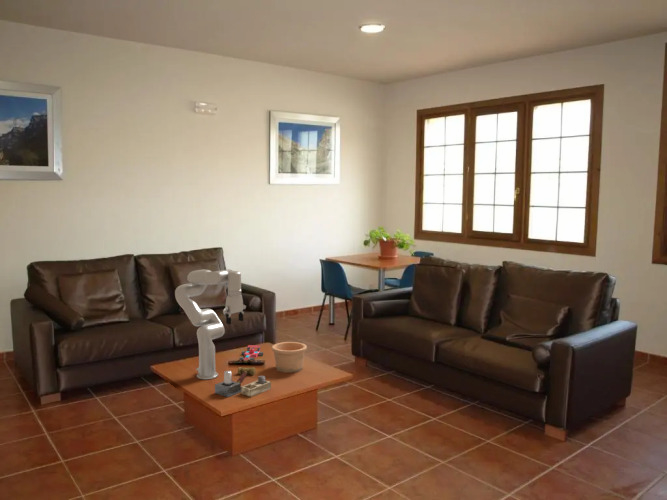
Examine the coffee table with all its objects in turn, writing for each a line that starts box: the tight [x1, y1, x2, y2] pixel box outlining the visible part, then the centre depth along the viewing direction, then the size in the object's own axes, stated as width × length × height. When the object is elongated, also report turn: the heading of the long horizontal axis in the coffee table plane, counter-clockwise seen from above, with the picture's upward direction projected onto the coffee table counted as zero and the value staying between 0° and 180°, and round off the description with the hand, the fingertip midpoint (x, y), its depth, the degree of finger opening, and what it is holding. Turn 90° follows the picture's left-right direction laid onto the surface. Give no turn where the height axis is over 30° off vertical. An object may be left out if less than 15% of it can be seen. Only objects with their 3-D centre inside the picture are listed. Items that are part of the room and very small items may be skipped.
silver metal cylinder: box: [223, 370, 232, 386], centre depth 319 cm, size 4×4×12 cm
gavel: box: [237, 366, 256, 384], centre depth 343 cm, size 21×5×10 cm
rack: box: [240, 375, 272, 398], centre depth 321 cm, size 8×16×7 cm, turn 144°
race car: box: [238, 344, 264, 361], centre depth 382 cm, size 14×6×25 cm
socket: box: [214, 380, 242, 398], centre depth 319 cm, size 10×10×5 cm
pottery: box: [271, 341, 308, 374], centre depth 361 cm, size 22×22×14 cm
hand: (234, 322), depth 328 cm, fingers open, 9 cm apart
